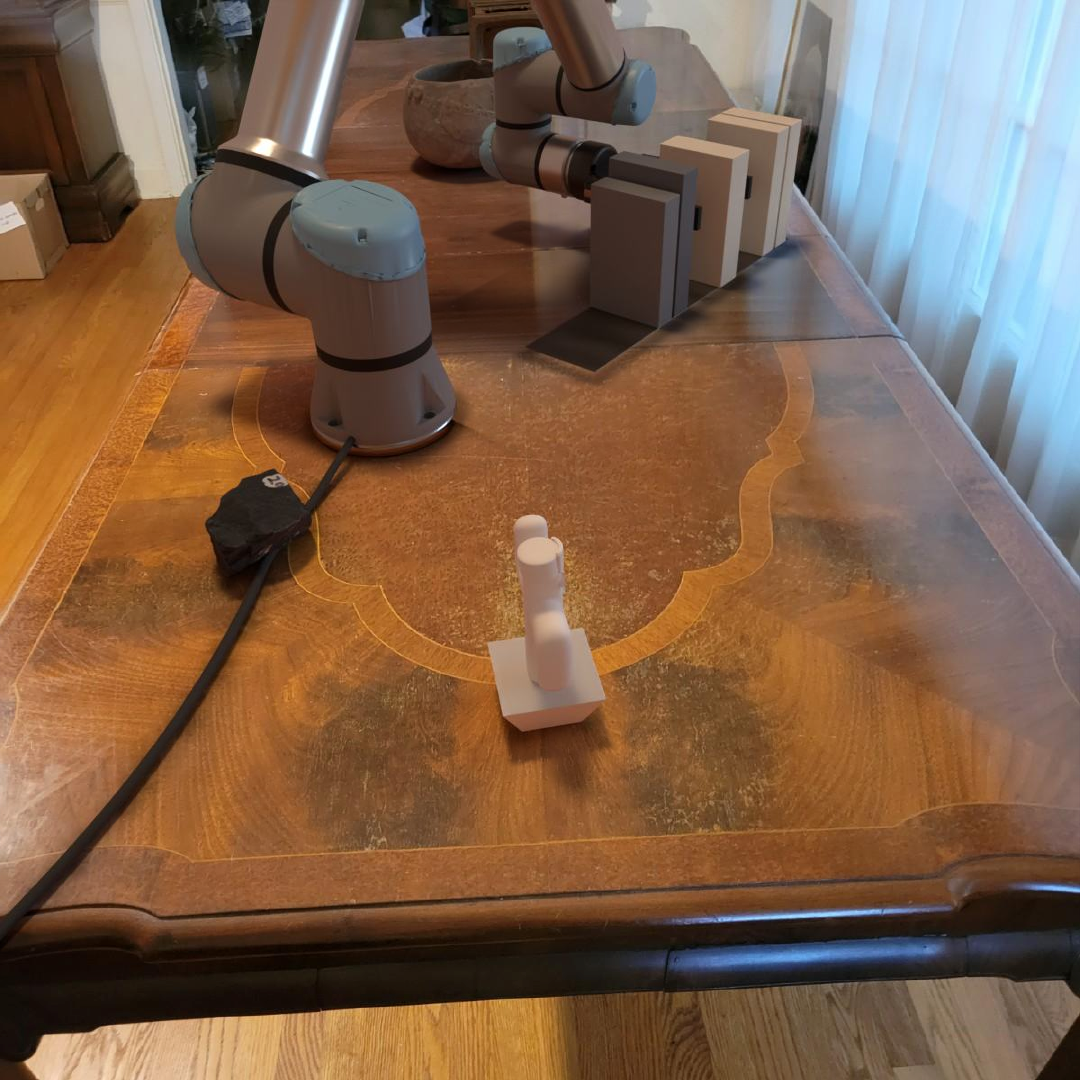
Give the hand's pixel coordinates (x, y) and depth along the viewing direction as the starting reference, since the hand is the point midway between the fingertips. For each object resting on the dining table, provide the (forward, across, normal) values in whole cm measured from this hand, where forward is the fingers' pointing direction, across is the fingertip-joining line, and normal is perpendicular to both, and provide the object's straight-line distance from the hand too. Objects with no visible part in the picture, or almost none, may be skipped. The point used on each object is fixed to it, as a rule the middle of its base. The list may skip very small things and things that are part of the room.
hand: (725, 203), depth 120 cm
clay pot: (-59, -19, -11) cm, 63 cm away
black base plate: (-4, +6, -11) cm, 13 cm away
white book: (-3, 0, -10) cm, 10 cm away
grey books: (-4, +13, -10) cm, 17 cm away
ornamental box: (-83, -59, -11) cm, 102 cm away
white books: (-4, -13, -10) cm, 17 cm away
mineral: (-6, +69, -11) cm, 70 cm away
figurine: (+25, +69, -11) cm, 75 cm away
